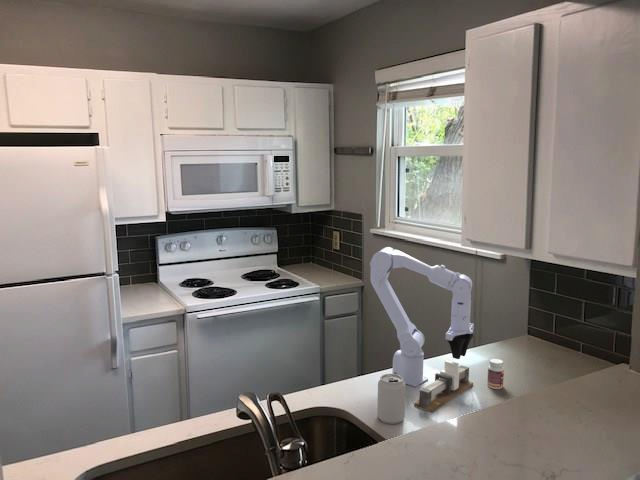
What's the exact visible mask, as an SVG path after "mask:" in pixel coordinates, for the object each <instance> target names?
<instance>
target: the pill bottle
mask: <svg viewBox="0 0 640 480" xmlns="http://www.w3.org/2000/svg"><path fill="white" fill-rule="evenodd" d="M504 372H505V367H504V361H503V360H502V359H498V358H491V359H490V360H489V365H488V368H487V381H486V382H487V383H486V384H487V387H488V388H490V389H494V390H500V389H503V387H504V376H505V373H504Z"/></svg>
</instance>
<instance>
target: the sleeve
mask: <svg viewBox="0 0 640 480" xmlns="http://www.w3.org/2000/svg"><path fill="white" fill-rule="evenodd" d="M459 366H460V365H459V363H457V362H454V361H451V360H447V359H446V360H444V368H443V369H441V370H440V373H439V374H441V375H446V376H449V377H452V385H451V390H453V391H454V390H456V389H457V388H459V372H458V367H459Z"/></svg>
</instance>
